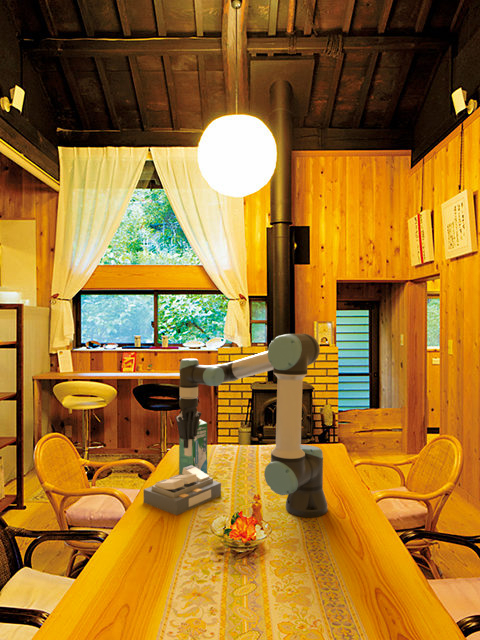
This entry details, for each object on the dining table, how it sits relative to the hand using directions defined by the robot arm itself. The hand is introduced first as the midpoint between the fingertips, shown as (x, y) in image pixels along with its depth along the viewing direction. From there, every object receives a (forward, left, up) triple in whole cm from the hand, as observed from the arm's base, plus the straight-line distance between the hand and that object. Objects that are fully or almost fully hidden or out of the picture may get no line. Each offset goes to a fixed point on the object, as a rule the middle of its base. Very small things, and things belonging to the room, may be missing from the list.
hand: (188, 455), depth 189 cm
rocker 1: (-5, +14, -8) cm, 17 cm away
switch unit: (-4, +7, -15) cm, 17 cm away
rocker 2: (-5, +7, -8) cm, 12 cm away
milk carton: (+14, -17, -15) cm, 26 cm away
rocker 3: (-4, 0, -8) cm, 9 cm away
